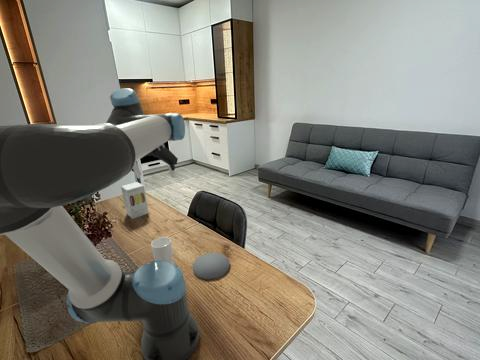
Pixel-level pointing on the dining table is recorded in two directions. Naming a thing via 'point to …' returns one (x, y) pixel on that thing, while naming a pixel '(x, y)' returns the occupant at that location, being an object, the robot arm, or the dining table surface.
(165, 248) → the drinking glass
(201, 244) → the dining table surface
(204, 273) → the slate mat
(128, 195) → the supplement box
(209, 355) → the dining table surface
